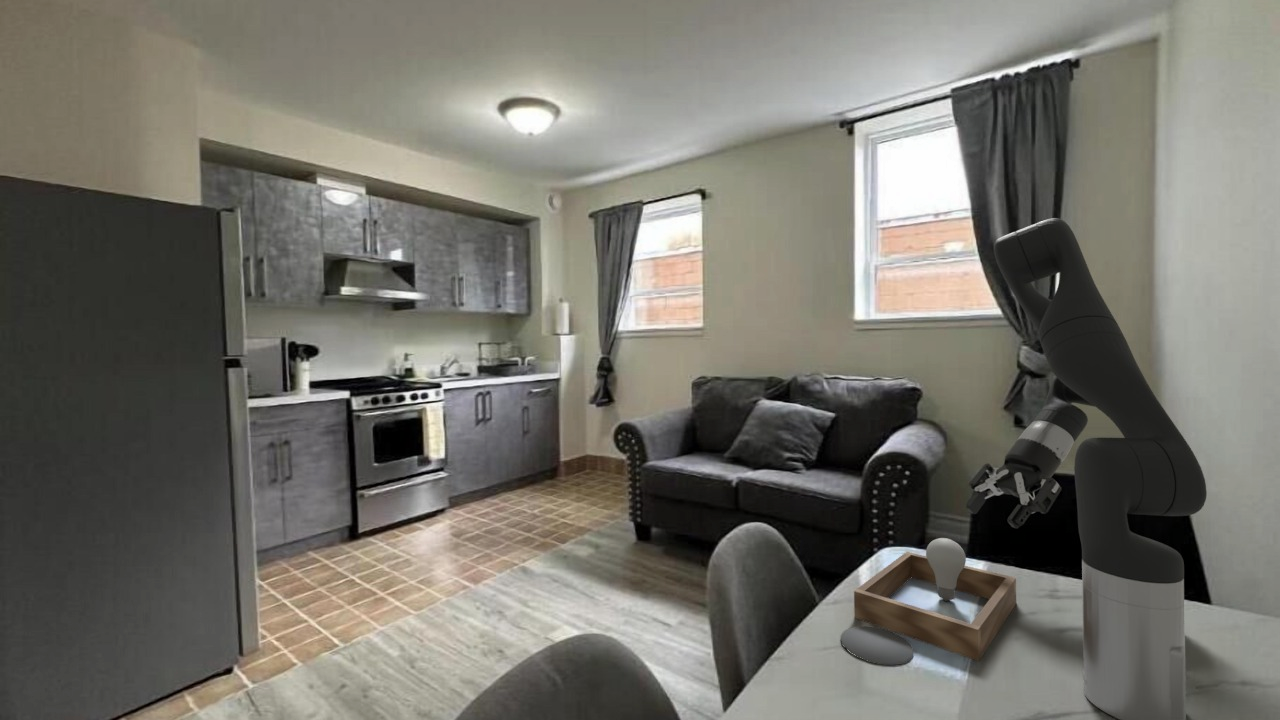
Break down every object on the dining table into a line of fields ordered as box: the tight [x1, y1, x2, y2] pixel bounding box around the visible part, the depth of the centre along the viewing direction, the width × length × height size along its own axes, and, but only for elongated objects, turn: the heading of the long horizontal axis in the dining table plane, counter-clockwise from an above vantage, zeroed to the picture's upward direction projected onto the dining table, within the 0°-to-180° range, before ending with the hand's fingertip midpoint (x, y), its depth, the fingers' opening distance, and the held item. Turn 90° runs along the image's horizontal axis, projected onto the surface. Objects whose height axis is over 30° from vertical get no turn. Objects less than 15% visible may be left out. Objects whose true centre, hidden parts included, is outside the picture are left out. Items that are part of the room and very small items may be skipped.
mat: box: [840, 625, 914, 666], centre depth 80 cm, size 10×10×1 cm
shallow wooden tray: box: [853, 551, 1017, 662], centre depth 90 cm, size 18×24×4 cm
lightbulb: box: [925, 537, 967, 602], centre depth 94 cm, size 6×6×11 cm
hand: (990, 517), depth 96 cm, fingers open, 8 cm apart
